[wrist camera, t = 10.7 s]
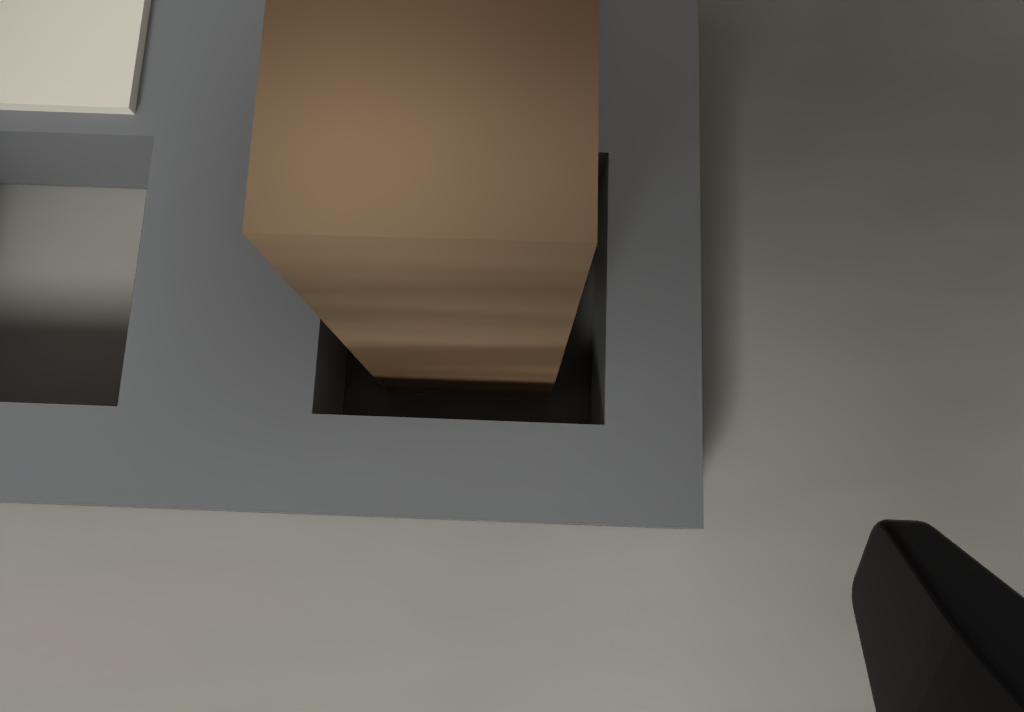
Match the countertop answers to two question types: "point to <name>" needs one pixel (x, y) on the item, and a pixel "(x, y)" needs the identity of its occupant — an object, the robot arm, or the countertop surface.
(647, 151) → the socket block
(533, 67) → the brown wooden block
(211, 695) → the countertop surface
